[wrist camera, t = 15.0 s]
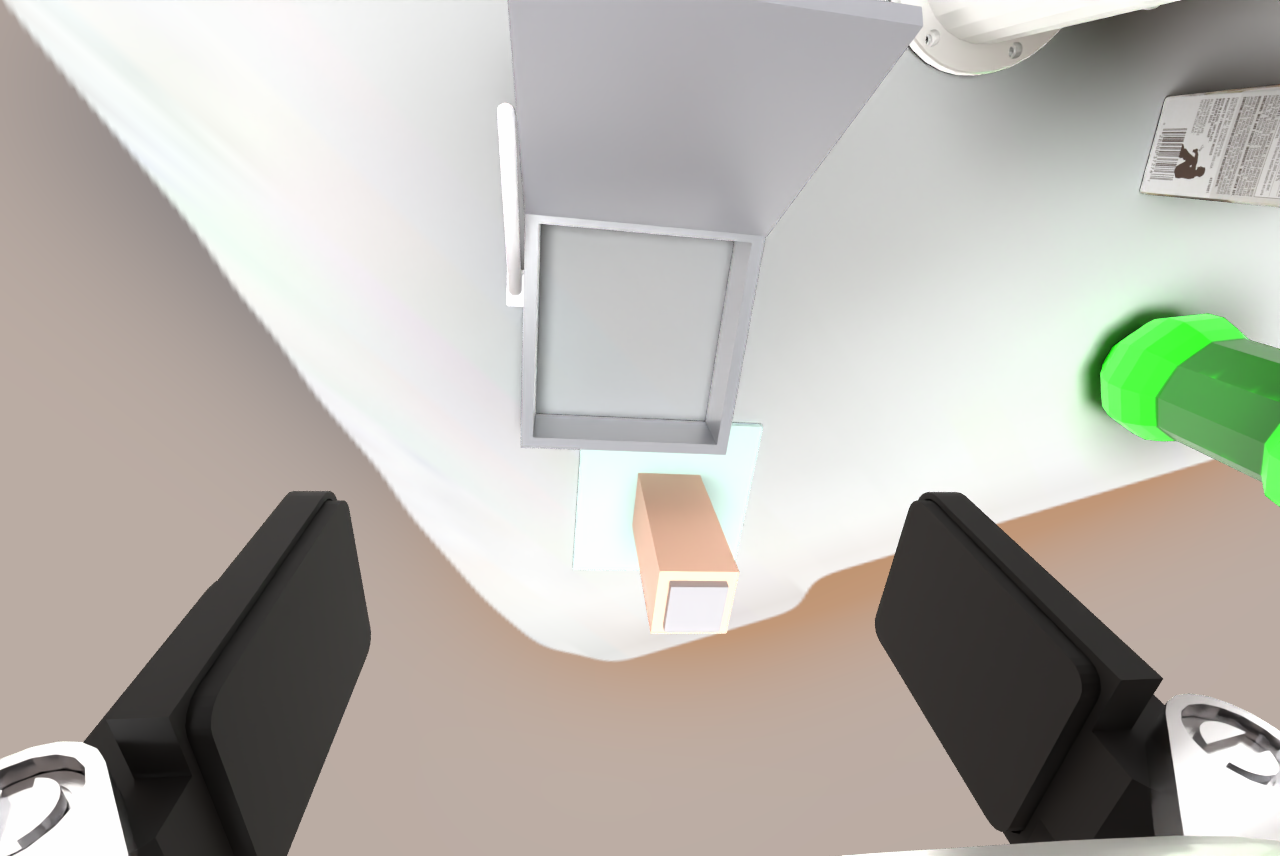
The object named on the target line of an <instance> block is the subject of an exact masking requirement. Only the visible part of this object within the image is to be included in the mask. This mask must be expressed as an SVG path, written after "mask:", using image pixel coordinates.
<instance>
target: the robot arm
mask: <svg viewBox="0 0 1280 856" xmlns="http://www.w3.org/2000/svg"><path fill="white" fill-rule="evenodd" d="M1175 1H1180V0H891V2H895V3H902V4H908V5H915V6H921V7H922V15H923V27H922V28H921V30H920V31H919V32H918V34H917V35H916V37H915V38H914V39H913V41H912V42H911V43H910V47H911V48H912V50H913V51H914V52H915V53H916V54H918V55H919V56H920V57H921V58H922V59H923V60H924V61H925V62H926V63H928V64H930V65H932V66H933V67H935V68H937V69H939V70H940V71H944V72H947V73H951V74H955V75H971V76H976V75H981V74H988V73H994V72H997V71H1000V70H1003V69H1006V68H1009V67H1012V66H1014V65H1016V64H1018V63H1020V62H1021V61H1023V60H1025V59H1027V58H1029V57H1030V56H1032V55H1033V54H1034V53H1036V52H1037V51H1038V50H1039V49H1041V48H1042V47H1043V46H1045V45H1046V44H1047V43H1048V42H1049V41H1050V40H1051V39H1052V38H1053V37H1054V36H1055V35H1056V34H1057V33H1058V32H1059V31H1060V30H1061V28H1063V27H1067V26H1072V25H1076V24H1080V23H1085V22H1089V21H1093V20H1098V19H1102V18H1106V17H1111V16H1115V15H1119V14H1124V13H1128V12H1132V11H1136V10H1141V9H1145V10H1151V9H1155V8H1157V7H1158V6H1160V5H1162V4H1167V3H1171V2H1175ZM926 36H927V38H928V42H927V44H926ZM875 628H876V633H877V636H878V638H879V641H880V642H881V644H882V646H883V647H884V649H885V650H886V652H887V654H888V656H889V657H890V659H891V661H892V662H893V664H894V665H895V667H896V669H897V670H898V672H899V674H900V675H901V677H902V679H903V680H904V682H905V684H906V685H907V687H908V689H909V690H910V692H911V693H912V695H913V697H914V699H915V700H916V702H917V704H918V705H919V707H920V708H921V710H922V712H923V714H924V715H925V717H926V719H927V720H928V722H929V724H930V725H931V727H932V729H933V730H934V732H935V733H936V735H937V737H938V738H939V740H940V741H941V743H942V745H943V747H944V748H945V750H946V752H947V753H948V755H949V757H950V758H951V760H952V762H953V763H954V765H955V767H956V768H957V770H958V772H959V773H960V775H961V777H962V778H963V780H964V782H965V783H966V785H967V787H968V788H969V790H970V792H971V793H972V795H973V797H974V798H975V800H976V801H977V803H978V805H979V806H980V808H981V810H982V811H983V813H984V815H985V816H986V818H987V819H988V821H989V822H990V824H991V825H992V826H993V827H994V828H995V829H997V830H999V831H1001V832H1003V833H1004V834H1005V836H1006V838H1007V839H1008V841H1009V842H1010V844H1007V845H992V846H977V847H963V848H948V849H932V850H918V851H902V852H886V853H872V854H859V855H844V856H1280V731H1278V730H1277V729H1276V728H1274V727H1273V726H1271V725H1269V724H1268V723H1266V722H1265V721H1263V720H1261V719H1260V718H1258V717H1256V716H1255V715H1253V714H1251V713H1249V712H1247V711H1245V710H1243V709H1241V708H1238V707H1236V706H1234V705H1232V704H1230V703H1227V702H1224V701H1221V700H1218V699H1215V698H1211V697H1208V696H1202V695H1195V694H1183V695H1176V696H1174V697H1173V698H1172V699H1170V700H1169V701H1168V702H1167V703H1166V705H1164V704H1163V703H1162V702H1161V701H1160V700H1158V698H1156V697H1155V696H1154V695H1153V694H1154V692H1155V691H1156V689H1157V688H1158V686H1159V684H1160V683H1161V681H1162V680H1163V678H1162V677H1161V676H1160V675H1159V674H1158V673H1157V672H1156V671H1154V670H1153V669H1152V668H1151V667H1150V666H1149V665H1148V664H1147V663H1146V662H1145V661H1144V660H1142V659H1141V658H1140V657H1139V656H1138V655H1137V654H1136V653H1135V652H1134V651H1133V650H1132V649H1131V648H1130V647H1128V646H1127V645H1126V644H1125V643H1124V642H1123V641H1122V640H1121V639H1119V637H1118V636H1116V635H1115V634H1114V633H1113V632H1112V631H1111V630H1110V629H1109V628H1108V627H1107V626H1106V625H1105V624H1103V623H1102V622H1101V621H1100V620H1099V619H1098V618H1097V617H1096V616H1095V615H1094V614H1093V613H1091V612H1090V611H1089V610H1088V609H1087V608H1086V607H1085V606H1084V605H1083V604H1082V603H1081V602H1080V601H1079V600H1077V599H1076V598H1075V597H1074V596H1073V595H1072V594H1071V593H1070V592H1069V591H1068V590H1066V589H1065V588H1064V587H1063V586H1062V585H1061V584H1060V583H1059V582H1058V581H1057V580H1056V579H1055V578H1054V577H1053V576H1051V575H1050V574H1049V573H1048V572H1047V571H1046V570H1045V569H1044V568H1043V567H1042V566H1041V565H1039V564H1038V563H1037V562H1036V561H1035V560H1034V559H1033V558H1032V557H1031V556H1030V555H1029V554H1028V553H1027V552H1025V551H1024V550H1023V549H1022V548H1021V547H1020V546H1019V545H1018V544H1017V543H1016V542H1015V541H1014V540H1012V539H1011V538H1010V537H1009V536H1008V535H1007V534H1006V533H1005V532H1004V531H1003V530H1002V529H1001V528H999V527H998V526H997V525H996V524H995V523H994V522H993V521H992V520H991V519H990V518H989V517H988V516H986V515H985V514H984V513H983V512H982V511H981V510H980V509H979V508H978V507H977V506H976V505H975V504H973V503H972V502H971V501H970V500H969V499H968V498H967V497H966V496H965V495H963V494H961V493H957V492H927V493H924V494H922V496H921V497H920V498H919V500H918V501H914V502H913V503H912V504H911V506H910V508H909V511H908V514H907V517H906V520H905V523H904V527H903V530H902V533H901V536H900V540H899V543H898V546H897V549H896V553H895V556H894V559H893V562H892V566H891V569H890V572H889V576H888V578H887V582H886V585H885V588H884V592H883V595H882V598H881V601H880V604H879V608H878V611H877V614H876V618H875ZM370 640H371V630H370V624H369V618H368V612H367V607H366V602H365V596H364V590H363V585H362V579H361V573H360V568H359V562H358V557H357V551H356V545H355V539H354V534H353V528H352V523H351V517H350V511H349V507H348V504H347V503H346V502H345V501H337V499H336V497H335V495H334V493H332V492H330V491H293V492H289V493H288V494H287V495H286V496H285V497H284V499H283V500H282V501H281V502H280V504H279V505H278V506H277V507H276V509H275V510H274V511H273V512H272V514H271V515H270V516H269V517H268V519H267V520H266V521H265V522H264V523H263V525H262V526H261V527H260V529H259V530H258V531H257V532H256V533H255V535H254V536H253V537H252V538H251V540H250V541H249V542H248V543H247V545H246V546H245V547H244V548H243V550H242V551H241V552H240V553H239V555H238V556H237V557H236V558H235V560H234V561H233V562H232V563H231V565H230V566H229V567H228V568H227V569H226V571H225V572H224V573H223V575H222V576H221V577H220V578H219V579H218V581H216V582H215V583H214V584H213V585H212V586H210V587H209V589H207V591H206V592H205V593H204V594H203V595H202V597H201V598H200V599H199V600H198V602H197V603H196V604H195V605H194V607H193V608H192V609H191V610H190V611H189V613H188V614H187V615H186V616H185V618H184V619H183V620H182V621H181V623H180V624H179V625H178V626H177V628H176V629H175V630H174V631H173V632H172V634H171V635H170V636H169V637H168V639H167V640H166V641H165V642H164V643H163V645H162V646H161V647H160V648H159V650H158V651H157V652H156V653H155V655H154V656H153V657H152V658H151V660H150V661H149V662H148V663H147V664H146V666H145V667H144V668H143V669H142V671H141V672H140V673H139V674H138V676H137V677H136V678H135V679H134V681H133V682H132V683H131V684H130V686H129V687H128V688H127V689H126V690H125V692H124V693H123V694H122V695H121V696H120V698H119V699H118V700H117V702H116V703H115V704H114V705H113V706H112V708H111V709H110V710H109V711H108V713H107V714H106V715H105V716H104V717H103V719H102V720H101V721H100V722H99V724H98V725H97V726H96V727H95V729H94V730H93V731H92V732H91V733H90V735H89V736H88V737H87V738H86V740H85V741H84V742H62V741H61V742H54V743H50V744H44V745H39V746H34V747H31V748H28V749H26V750H23V751H20V752H18V753H15V754H12V755H10V756H7V757H4V758H2V759H0V856H287V854H288V852H289V849H290V847H291V844H292V841H293V839H294V837H295V834H296V832H297V829H298V826H299V824H300V822H301V819H302V817H303V814H304V812H305V809H306V807H307V804H308V802H309V799H310V797H311V794H312V792H313V789H314V787H315V784H316V782H317V779H318V777H319V774H320V772H321V769H322V767H323V764H324V762H325V759H326V757H327V754H328V752H329V749H330V746H331V744H332V742H333V739H334V736H335V734H336V732H337V729H338V727H339V724H340V722H341V719H342V717H343V714H344V712H345V709H346V707H347V704H348V702H349V699H350V697H351V694H352V692H353V689H354V686H355V684H356V682H357V679H358V677H359V674H360V672H361V669H362V667H363V664H364V662H365V659H366V657H367V654H368V651H369V646H370Z"/></svg>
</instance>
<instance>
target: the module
mask: <svg viewBox="0 0 1280 856" xmlns="http://www.w3.org/2000/svg"><path fill="white" fill-rule="evenodd" d="M632 528H633V534H634V539H635V545H636V551H637V557H638V563H639V568H640V574H641V580H642V586H643V592H644V597H645V603H646V609H647V615H648V621H649V626H650V632H651V634H686V633H726V632H727V627H728V623H729V618H730V613H731V609H732V604H733V599H734V595H735V590H736V585H737V581H738V576H739V570H738V567H737V565H736V563H735V560H734V558H733V555H732V553H731V550H730V548H729V545H728V543H727V540H726V538H725V535H724V533H723V530H722V528H721V525H720V523H719V520H718V518H717V515H716V513H715V510H714V508H713V506H712V503H711V501H710V498H709V496H708V493H707V491H706V488H705V486H704V483H703V481H702V478H701V476H700V475H688V474H659V473H638V479H637V488H636V497H635V505H634V514H633V523H632Z"/></svg>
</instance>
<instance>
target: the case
mask: <svg viewBox="0 0 1280 856" xmlns="http://www.w3.org/2000/svg"><path fill="white" fill-rule="evenodd" d="M508 11H509V24H510V37H511V49H512V62H513V74H514V87H515V100H516V112H517V125H518V138H519V150H520V163H521V175H522V188H523V201H524V213H525V230H524V270H521V255H520V227H519V200H518V172H517V144H516V117H515V109H514V107H513V106H512V105H511V104H509V103H502V104H500V105H499V106H498V109H497V120H498V135H499V151H500V167H501V182H502V198H503V213H504V229H505V245H506V260H507V306H519V307H523V345H522V403H521V447H523V448H550V449H577V450H604V451H631V452H657V453H684V454H711V455H726V452H727V447H728V441H729V436H730V430H731V425H732V419H733V414H734V408H735V403H736V397H737V392H738V386H739V381H740V375H741V370H742V364H743V359H744V353H745V348H746V342H747V337H748V331H749V326H750V320H751V315H752V309H753V304H754V298H755V293H756V287H757V282H758V276H759V271H760V265H761V260H762V254H763V249H764V243H765V238H766V236H768V234H769V233H770V232H771V230H772V229H773V228H774V226H775V225H776V224H777V222H778V221H779V219H780V218H781V217H782V215H783V214H784V213H785V211H786V210H787V209H788V207H789V206H790V205H791V203H792V202H793V201H794V199H795V198H796V197H797V195H798V194H799V193H800V191H801V190H802V189H803V187H804V186H805V185H806V183H807V182H808V180H809V179H810V178H811V176H812V175H813V174H814V172H815V171H816V170H817V168H818V167H819V166H820V164H821V163H822V162H823V160H824V159H825V158H826V156H827V155H828V154H829V152H830V151H831V150H832V148H833V147H834V145H835V144H836V143H837V141H838V140H839V139H840V137H841V136H842V135H843V133H844V132H845V131H846V129H847V128H848V127H849V125H850V124H851V123H852V121H853V120H854V119H855V117H856V116H857V115H858V113H859V112H860V111H861V109H862V108H863V106H864V105H865V104H866V102H867V101H868V100H869V98H870V97H871V96H872V94H873V93H874V92H875V90H876V89H877V88H878V86H879V85H880V84H881V82H882V81H883V80H884V78H885V77H886V76H887V74H888V73H889V72H890V70H891V69H892V67H893V66H894V65H895V63H896V62H897V61H898V59H899V58H900V57H901V55H902V54H903V53H904V51H905V50H906V49H907V47H908V46H909V45H910V43H911V42H912V41H913V39H914V38H915V37H916V35H917V34H918V32H919V31H920V30H921V28H922V27H923V15H922V7H921V6H915V5H908V4H902V3H895V2H889V1H883V0H508ZM541 224H549V225H560V226H571V227H582V228H593V229H604V230H615V231H626V232H637V233H649V234H660V235H671V236H682V237H693V238H704V239H715V240H726V241H734V246H733V252H732V258H731V265H730V271H729V277H728V283H727V289H726V296H725V302H724V308H723V314H722V320H721V327H720V333H719V339H718V345H717V352H716V358H715V364H714V370H713V376H712V383H711V389H710V395H709V401H708V408H707V414H706V420H705V421H687V420H665V419H643V418H621V417H599V416H577V415H555V414H535V413H536V378H537V343H538V308H539V272H540V237H541Z"/></svg>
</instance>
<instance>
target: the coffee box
mask: <svg viewBox="0 0 1280 856" xmlns="http://www.w3.org/2000/svg"><path fill="white" fill-rule="evenodd" d="M1140 192H1141V193H1142V194H1147V195H1158V196H1169V197H1180V198H1190V199H1200V200H1210V201H1220V202H1230V203H1239V204H1250V205H1260V206H1271V207H1280V84H1277V85H1268V86H1259V87H1250V88H1241V89H1232V90H1223V91H1215V92H1205V93H1196V94H1187V95H1177V96H1169V97H1167V98H1166V99H1165V102H1164V105H1163V109H1162V113H1161V117H1160V120H1159V124H1158V127H1157V131H1156V134H1155V138H1154V142H1153V145H1152V149H1151V152H1150V156H1149V160H1148V163H1147V167H1146V170H1145V174H1144V178H1143V181H1142V185H1141V189H1140Z"/></svg>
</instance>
